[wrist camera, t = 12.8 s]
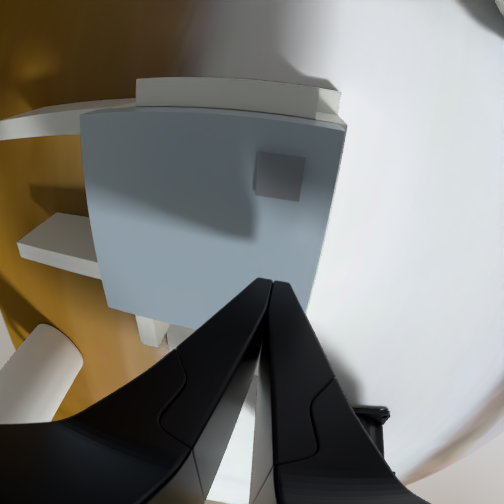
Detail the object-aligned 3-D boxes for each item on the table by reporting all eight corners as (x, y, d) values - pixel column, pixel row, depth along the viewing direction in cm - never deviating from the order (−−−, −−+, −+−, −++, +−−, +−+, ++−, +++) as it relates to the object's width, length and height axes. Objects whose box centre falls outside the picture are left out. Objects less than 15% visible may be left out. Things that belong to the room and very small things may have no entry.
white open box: (339, 91, 11) (352, 94, 8) (281, 371, 21) (274, 418, 18) (44, 91, 13) (-7, 103, 10) (86, 322, 22) (62, 356, 19)
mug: (31, 309, 24) (-38, 396, 14) (84, 342, 24) (19, 445, 14) (44, 362, 29) (-3, 434, 19) (89, 389, 30) (46, 469, 20)
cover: (340, 124, 8) (345, 132, 7) (297, 325, 13) (295, 352, 11) (102, 108, 9) (75, 115, 8) (121, 289, 13) (106, 310, 12)
